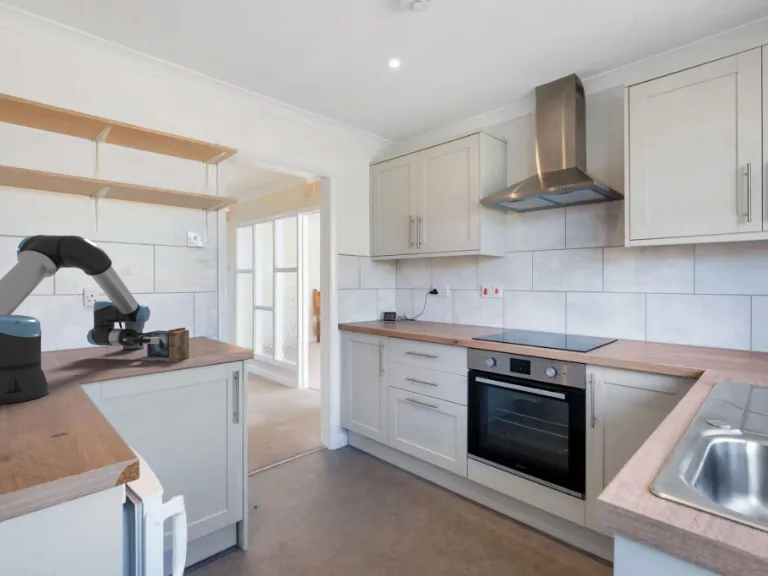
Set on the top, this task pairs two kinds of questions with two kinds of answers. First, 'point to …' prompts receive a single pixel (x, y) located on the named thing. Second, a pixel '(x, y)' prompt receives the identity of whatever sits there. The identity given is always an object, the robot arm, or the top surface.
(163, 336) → the small box
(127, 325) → the moka pot
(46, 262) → the robot arm
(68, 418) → the top surface
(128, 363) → the top surface
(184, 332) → the bookend
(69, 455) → the top surface
